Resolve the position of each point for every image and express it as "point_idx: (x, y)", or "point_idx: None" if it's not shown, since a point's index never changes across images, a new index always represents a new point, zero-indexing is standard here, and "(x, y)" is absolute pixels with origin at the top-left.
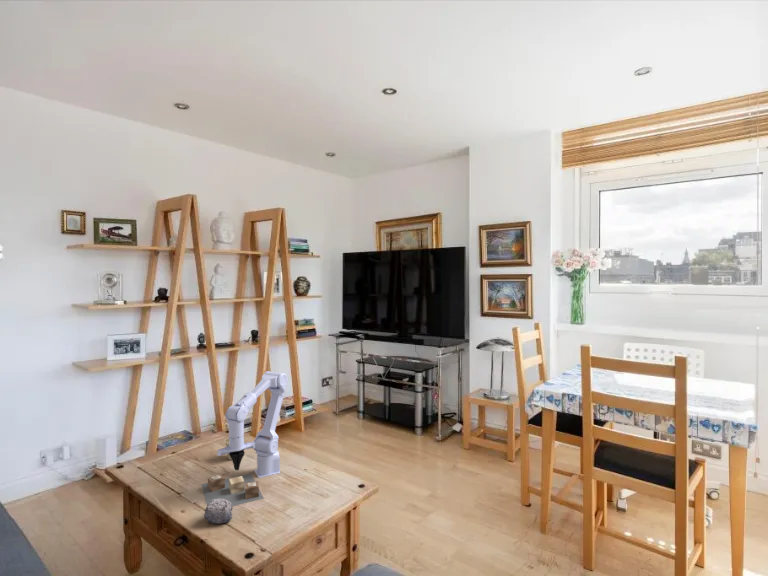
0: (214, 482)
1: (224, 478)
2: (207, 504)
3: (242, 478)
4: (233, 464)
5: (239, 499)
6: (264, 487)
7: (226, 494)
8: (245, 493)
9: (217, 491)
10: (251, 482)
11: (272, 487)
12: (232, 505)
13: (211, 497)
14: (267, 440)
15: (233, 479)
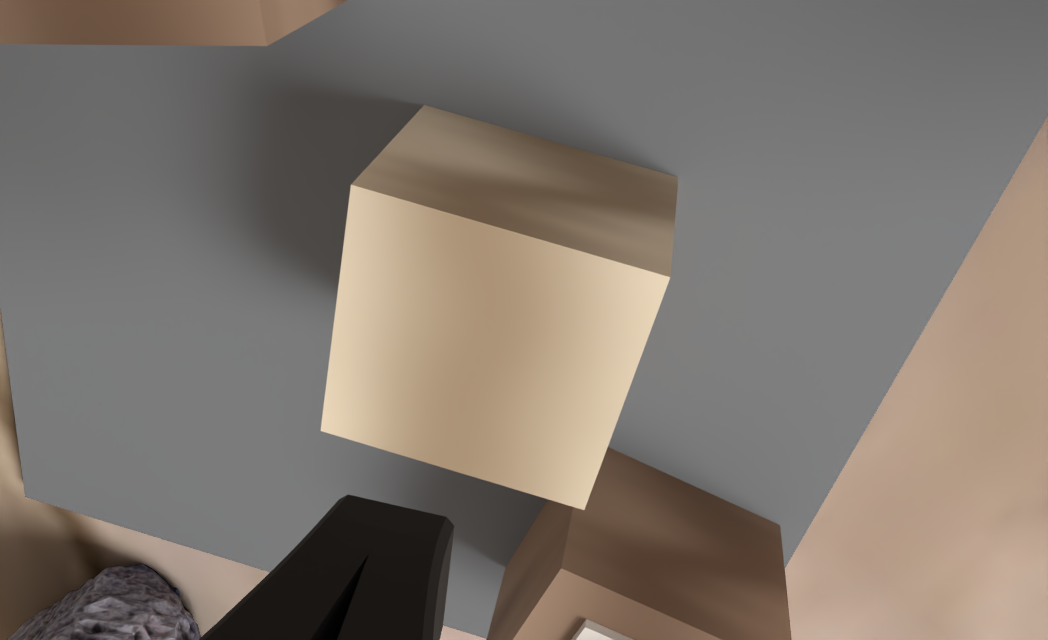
0: (25, 34)
1: (265, 44)
2: (14, 332)
3: (613, 393)
4: (260, 589)
5: None
6: (951, 479)
7: (316, 274)
8: (489, 637)
9: (198, 51)
10: (663, 633)
11: (1039, 565)
12: None
13: (78, 187)
14: None
15: (428, 286)
